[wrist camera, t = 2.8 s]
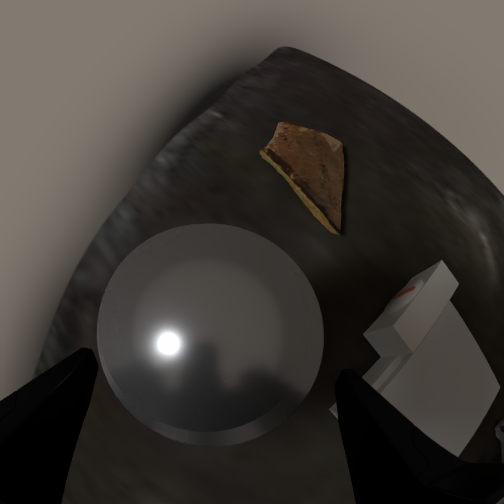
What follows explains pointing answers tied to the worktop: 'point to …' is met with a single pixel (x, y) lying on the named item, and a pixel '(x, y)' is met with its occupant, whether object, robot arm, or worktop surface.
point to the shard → (310, 169)
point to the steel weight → (210, 334)
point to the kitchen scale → (431, 361)
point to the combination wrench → (500, 436)
